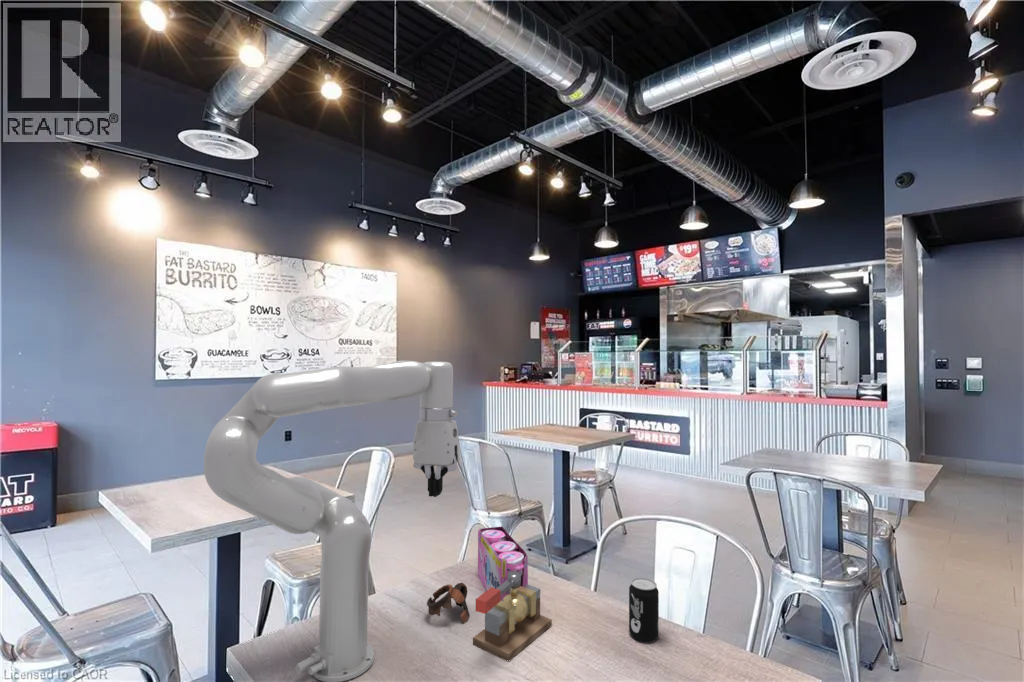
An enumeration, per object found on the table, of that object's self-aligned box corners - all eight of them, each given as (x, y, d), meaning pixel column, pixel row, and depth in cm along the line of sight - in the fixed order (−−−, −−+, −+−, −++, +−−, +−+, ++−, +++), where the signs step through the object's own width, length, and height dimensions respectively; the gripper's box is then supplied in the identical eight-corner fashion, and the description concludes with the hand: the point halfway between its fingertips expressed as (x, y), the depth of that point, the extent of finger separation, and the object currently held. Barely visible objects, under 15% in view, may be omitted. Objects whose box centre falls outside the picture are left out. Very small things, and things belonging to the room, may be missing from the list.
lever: (511, 581, 114) (511, 570, 114) (522, 584, 112) (523, 573, 113) (474, 610, 101) (474, 598, 101) (486, 614, 99) (486, 602, 99)
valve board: (508, 661, 102) (509, 632, 102) (472, 644, 108) (473, 616, 108) (551, 625, 115) (551, 600, 116) (517, 612, 121) (518, 587, 122)
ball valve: (503, 643, 103) (503, 604, 104) (480, 633, 107) (481, 595, 107) (544, 612, 116) (544, 577, 116) (522, 603, 120) (522, 570, 120)
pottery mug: (462, 633, 113) (444, 603, 113) (432, 640, 117) (415, 611, 117) (483, 597, 124) (467, 569, 124) (456, 605, 128) (440, 578, 128)
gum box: (530, 612, 122) (531, 557, 122) (500, 617, 119) (501, 561, 119) (502, 571, 144) (503, 525, 145) (476, 575, 142) (477, 528, 142)
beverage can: (659, 646, 108) (659, 591, 108) (629, 642, 109) (629, 588, 109) (657, 629, 114) (657, 578, 115) (628, 626, 116) (628, 575, 116)
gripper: (472, 414, 113) (471, 493, 113) (414, 411, 118) (413, 488, 117) (459, 418, 106) (458, 503, 106) (399, 415, 110) (397, 496, 110)
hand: (435, 494), depth 111 cm, fingers closed
